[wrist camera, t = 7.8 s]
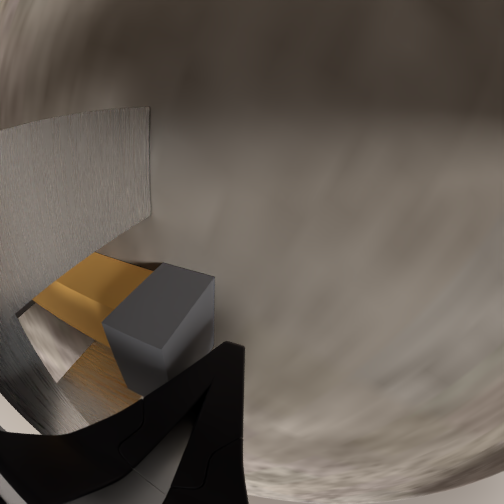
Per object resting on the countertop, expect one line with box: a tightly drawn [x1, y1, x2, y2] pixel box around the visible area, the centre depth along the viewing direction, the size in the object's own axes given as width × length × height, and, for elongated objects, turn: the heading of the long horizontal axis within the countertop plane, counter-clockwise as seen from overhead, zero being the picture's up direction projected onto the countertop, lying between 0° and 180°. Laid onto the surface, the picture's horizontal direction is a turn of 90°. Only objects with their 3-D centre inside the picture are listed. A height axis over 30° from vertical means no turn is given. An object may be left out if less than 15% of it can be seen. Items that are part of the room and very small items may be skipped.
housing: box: [0, 107, 151, 435], centre depth 8 cm, size 4×14×7 cm, turn 175°
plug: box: [15, 252, 215, 397], centre depth 10 cm, size 15×4×4 cm, turn 84°
